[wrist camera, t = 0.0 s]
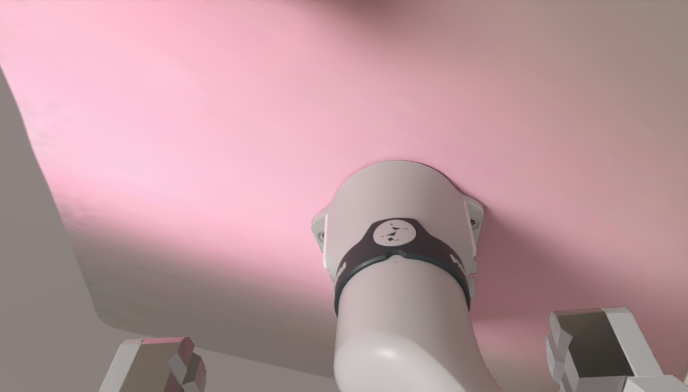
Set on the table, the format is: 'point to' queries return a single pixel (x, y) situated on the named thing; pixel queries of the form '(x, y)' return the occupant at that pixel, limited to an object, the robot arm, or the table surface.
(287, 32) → the table surface
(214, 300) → the table surface
